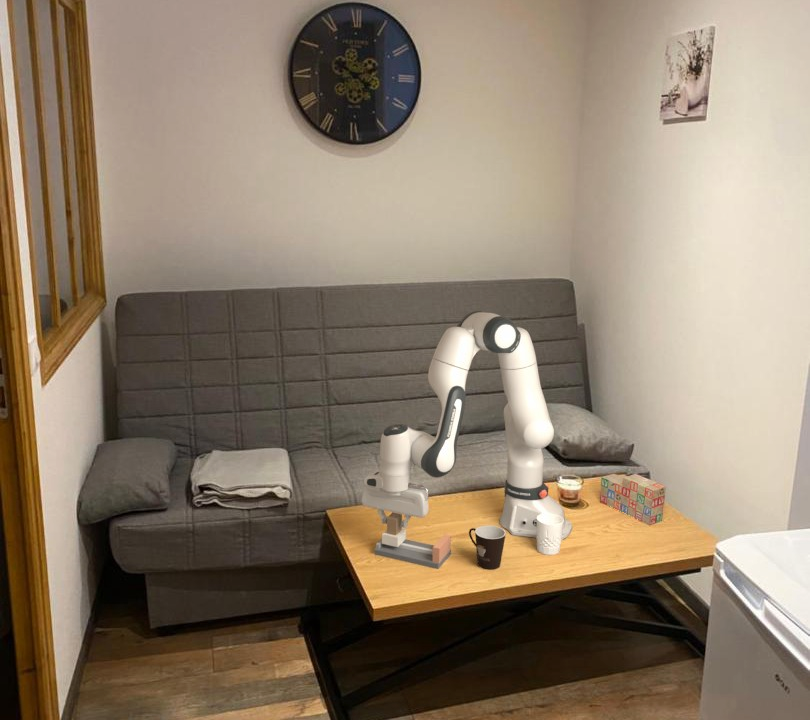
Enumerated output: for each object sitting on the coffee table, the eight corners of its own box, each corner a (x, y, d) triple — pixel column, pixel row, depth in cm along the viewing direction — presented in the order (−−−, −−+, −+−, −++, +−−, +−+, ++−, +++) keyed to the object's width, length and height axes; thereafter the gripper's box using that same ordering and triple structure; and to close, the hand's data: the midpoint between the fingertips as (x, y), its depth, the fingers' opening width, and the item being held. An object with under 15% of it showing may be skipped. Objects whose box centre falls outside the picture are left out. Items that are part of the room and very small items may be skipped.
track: (451, 553, 238) (451, 535, 236) (438, 569, 229) (438, 549, 227) (388, 540, 246) (389, 521, 244) (374, 554, 237) (374, 535, 235)
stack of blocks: (599, 502, 276) (601, 468, 273) (611, 498, 279) (614, 464, 276) (649, 526, 259) (653, 489, 256) (662, 521, 262) (666, 485, 259)
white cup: (532, 553, 239) (534, 521, 237) (537, 542, 246) (539, 511, 244) (559, 558, 236) (561, 526, 234) (563, 546, 244) (566, 515, 241)
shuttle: (406, 538, 241) (406, 513, 239) (397, 547, 235) (398, 521, 233) (390, 535, 243) (391, 510, 241) (382, 543, 237) (382, 518, 235)
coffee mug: (509, 569, 229) (510, 537, 227) (480, 573, 227) (481, 540, 224) (493, 550, 240) (494, 519, 238) (465, 554, 238) (466, 522, 235)
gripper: (432, 483, 233) (431, 527, 236) (368, 471, 241) (368, 514, 245) (424, 490, 228) (423, 536, 231) (358, 478, 236) (358, 522, 239)
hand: (394, 524), depth 238 cm, fingers open, 5 cm apart
